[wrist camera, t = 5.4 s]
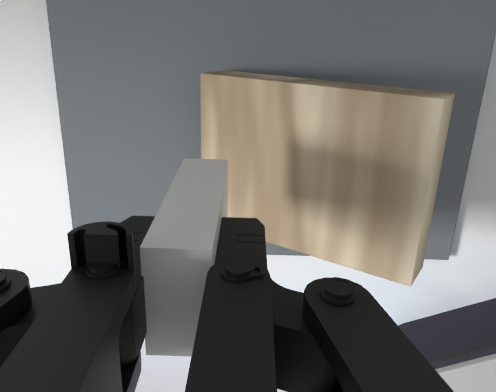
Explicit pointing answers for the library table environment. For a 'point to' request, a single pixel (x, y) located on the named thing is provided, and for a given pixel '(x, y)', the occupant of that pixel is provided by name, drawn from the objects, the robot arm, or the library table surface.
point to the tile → (330, 164)
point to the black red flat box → (459, 345)
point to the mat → (251, 61)
